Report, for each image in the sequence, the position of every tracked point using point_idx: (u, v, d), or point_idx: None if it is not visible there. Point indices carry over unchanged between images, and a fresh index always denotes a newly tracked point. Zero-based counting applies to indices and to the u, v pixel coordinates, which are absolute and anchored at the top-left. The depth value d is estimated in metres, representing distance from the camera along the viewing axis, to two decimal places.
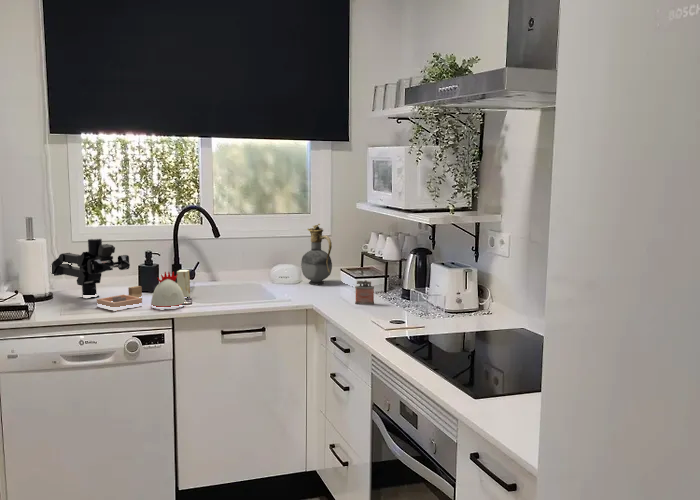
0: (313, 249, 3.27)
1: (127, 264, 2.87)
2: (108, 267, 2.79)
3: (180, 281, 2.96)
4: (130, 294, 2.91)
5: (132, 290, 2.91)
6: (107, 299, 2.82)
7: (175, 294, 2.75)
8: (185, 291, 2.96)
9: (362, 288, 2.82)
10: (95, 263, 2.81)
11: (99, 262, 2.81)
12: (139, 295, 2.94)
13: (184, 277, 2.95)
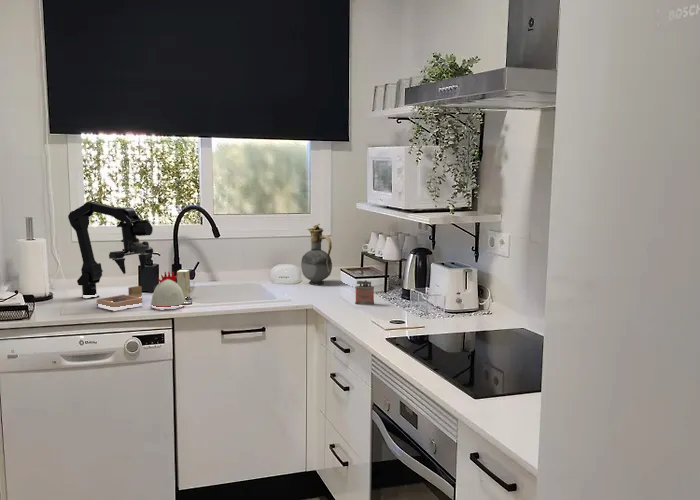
0: (313, 249, 3.27)
1: (142, 267, 2.95)
2: (123, 272, 2.88)
3: (180, 281, 2.96)
4: (130, 294, 2.91)
5: (132, 290, 2.91)
6: (107, 299, 2.82)
7: (175, 294, 2.75)
8: (185, 291, 2.96)
9: (362, 288, 2.82)
10: (118, 260, 2.84)
11: (122, 261, 2.85)
12: (139, 295, 2.94)
13: (184, 277, 2.95)
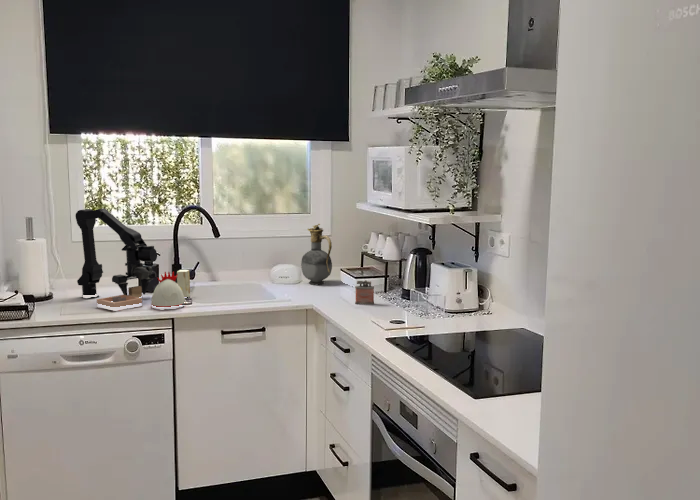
0: (313, 249, 3.27)
1: (143, 291, 2.97)
2: None
3: (180, 281, 2.96)
4: (130, 294, 2.91)
5: (132, 290, 2.91)
6: (107, 299, 2.82)
7: (175, 294, 2.75)
8: (185, 291, 2.96)
9: (362, 288, 2.82)
10: None
11: (124, 286, 2.87)
12: (139, 295, 2.94)
13: (184, 277, 2.95)
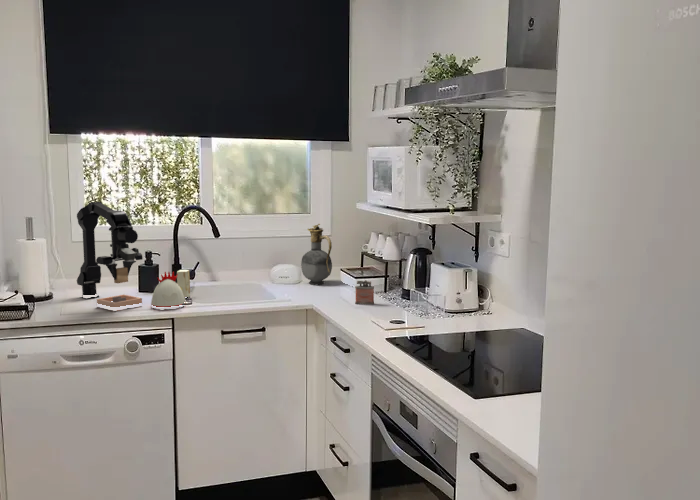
0: (313, 249, 3.27)
1: None
2: (114, 278, 2.78)
3: (180, 281, 2.96)
4: None
5: (117, 272, 2.78)
6: (107, 299, 2.82)
7: (175, 294, 2.75)
8: (185, 291, 2.96)
9: (362, 288, 2.82)
10: None
11: (113, 267, 2.76)
12: (125, 277, 2.81)
13: (184, 277, 2.95)
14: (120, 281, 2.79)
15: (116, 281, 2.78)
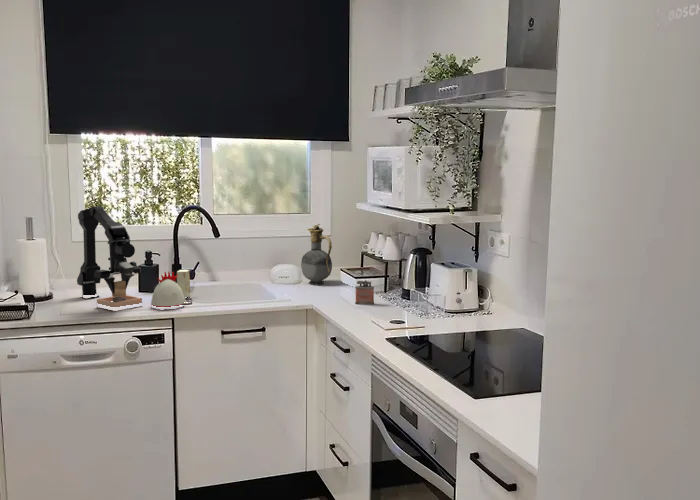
0: (313, 249, 3.27)
1: None
2: (112, 291, 2.77)
3: (180, 281, 2.96)
4: None
5: (115, 285, 2.77)
6: (107, 299, 2.82)
7: (175, 294, 2.75)
8: (185, 291, 2.96)
9: (362, 288, 2.82)
10: None
11: (111, 281, 2.75)
12: (123, 290, 2.80)
13: (184, 277, 2.95)
14: (118, 295, 2.78)
15: (114, 295, 2.78)
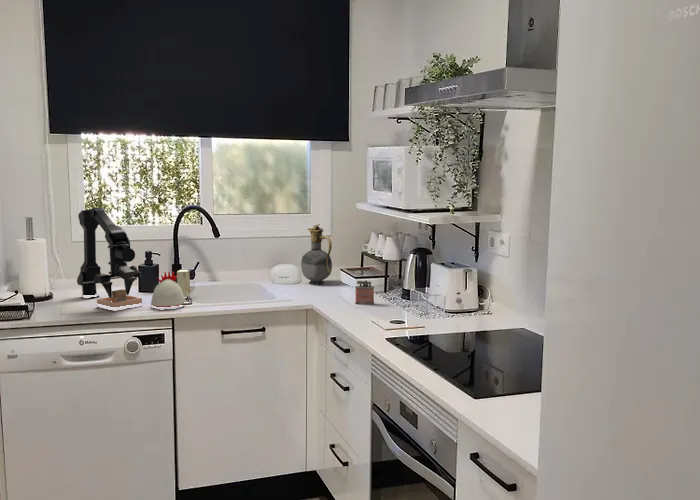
0: (313, 249, 3.27)
1: (127, 292, 2.83)
2: (109, 296, 2.76)
3: (180, 281, 2.96)
4: (114, 298, 2.78)
5: (116, 294, 2.77)
6: (107, 299, 2.82)
7: (175, 294, 2.75)
8: (185, 291, 2.96)
9: (362, 288, 2.82)
10: None
11: (109, 285, 2.74)
12: None
13: (184, 277, 2.95)
14: None
15: None
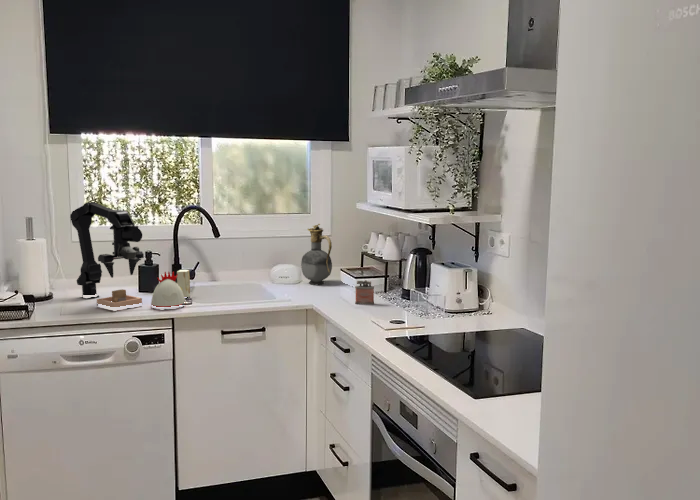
0: (313, 249, 3.27)
1: (131, 272, 2.91)
2: (111, 276, 2.84)
3: (180, 281, 2.96)
4: (114, 298, 2.78)
5: (116, 294, 2.77)
6: (107, 299, 2.82)
7: (175, 294, 2.75)
8: (185, 291, 2.96)
9: (362, 288, 2.82)
10: None
11: (110, 265, 2.81)
12: None
13: (184, 277, 2.95)
14: None
15: None
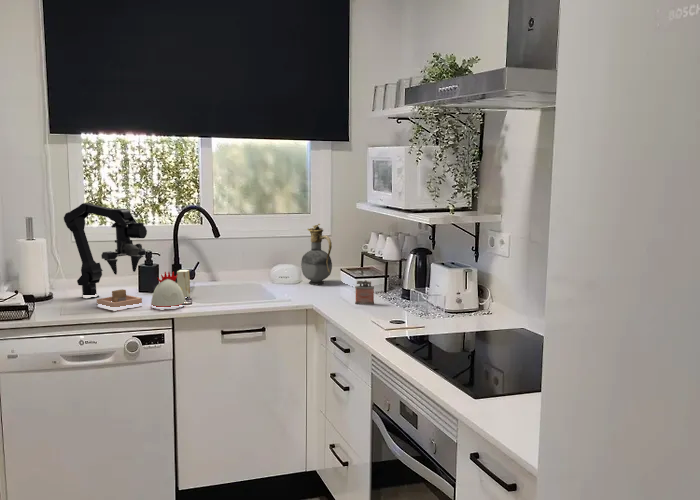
0: (313, 249, 3.27)
1: (133, 269, 2.96)
2: (114, 273, 2.89)
3: (180, 281, 2.96)
4: (114, 298, 2.78)
5: (116, 294, 2.77)
6: (107, 299, 2.82)
7: (175, 294, 2.75)
8: (185, 291, 2.96)
9: (362, 288, 2.82)
10: None
11: (114, 262, 2.87)
12: None
13: (184, 277, 2.95)
14: None
15: None
